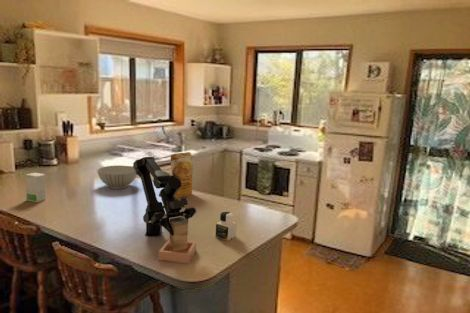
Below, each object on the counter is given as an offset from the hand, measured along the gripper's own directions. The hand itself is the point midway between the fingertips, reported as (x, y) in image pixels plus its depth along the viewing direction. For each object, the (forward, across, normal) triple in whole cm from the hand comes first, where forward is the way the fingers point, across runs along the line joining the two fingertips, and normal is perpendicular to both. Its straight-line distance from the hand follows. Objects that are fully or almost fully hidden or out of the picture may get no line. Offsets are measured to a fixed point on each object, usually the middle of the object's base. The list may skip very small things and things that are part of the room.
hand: (180, 233), depth 149 cm
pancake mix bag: (-47, +41, +63) cm, 89 cm away
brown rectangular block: (+4, 0, +6) cm, 7 cm away
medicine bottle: (+2, +29, +13) cm, 32 cm away
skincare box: (-66, -39, +82) cm, 112 cm away
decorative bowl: (-73, +11, +88) cm, 115 cm away
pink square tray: (+6, 0, +8) cm, 10 cm away
